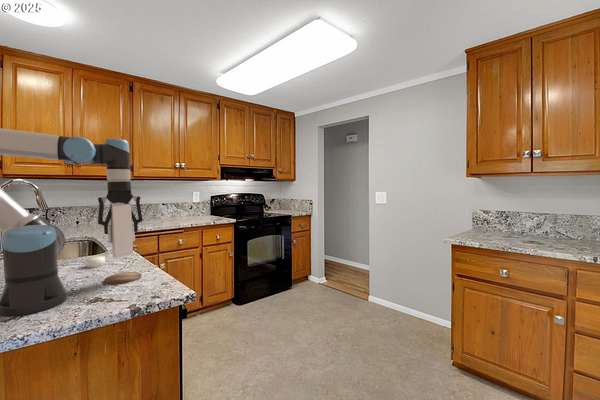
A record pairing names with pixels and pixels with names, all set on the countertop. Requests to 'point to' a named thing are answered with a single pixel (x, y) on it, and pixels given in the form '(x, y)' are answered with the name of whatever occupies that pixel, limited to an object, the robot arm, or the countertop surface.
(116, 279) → the disc
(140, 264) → the countertop surface
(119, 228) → the milk
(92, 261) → the cream rounded dome part
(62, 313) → the countertop surface
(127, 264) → the countertop surface
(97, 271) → the countertop surface
